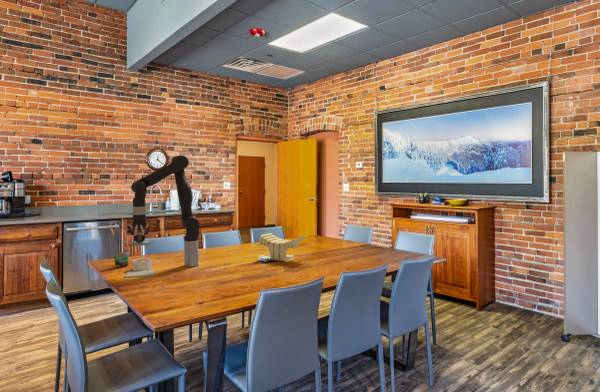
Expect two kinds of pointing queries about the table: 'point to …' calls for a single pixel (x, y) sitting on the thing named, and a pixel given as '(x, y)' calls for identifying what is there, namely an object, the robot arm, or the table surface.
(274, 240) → the slatted curved stool
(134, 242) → the lid
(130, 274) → the mat
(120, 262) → the food container
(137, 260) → the bowl
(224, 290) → the table surface
